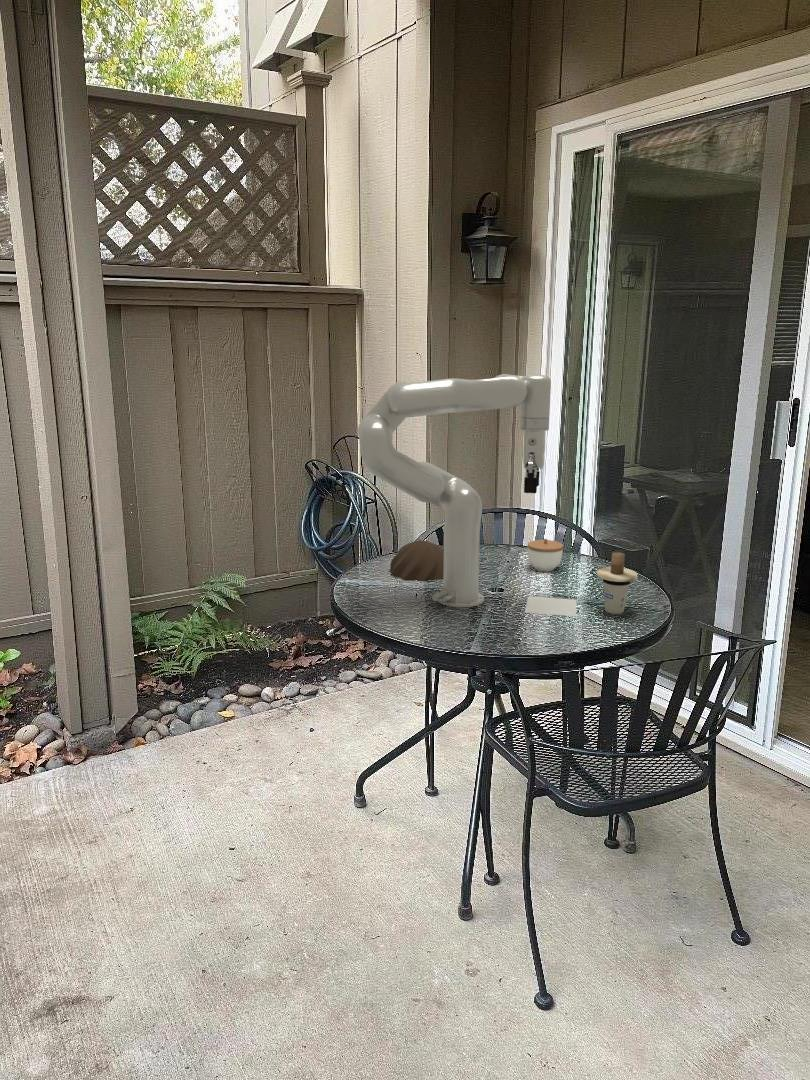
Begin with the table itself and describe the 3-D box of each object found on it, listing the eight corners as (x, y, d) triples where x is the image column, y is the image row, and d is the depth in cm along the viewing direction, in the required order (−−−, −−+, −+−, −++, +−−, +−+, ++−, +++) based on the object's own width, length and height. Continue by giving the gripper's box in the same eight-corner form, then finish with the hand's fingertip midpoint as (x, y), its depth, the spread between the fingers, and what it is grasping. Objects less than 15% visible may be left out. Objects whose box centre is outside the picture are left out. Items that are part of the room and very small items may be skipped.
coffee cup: (624, 608, 205) (627, 571, 203) (631, 617, 198) (634, 580, 196) (597, 607, 205) (600, 571, 203) (603, 617, 199) (606, 579, 196)
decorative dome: (376, 574, 235) (375, 542, 232) (415, 559, 250) (415, 529, 247) (428, 586, 223) (428, 553, 221) (466, 570, 238) (466, 539, 236)
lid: (625, 584, 192) (627, 561, 191) (589, 576, 199) (590, 554, 198) (644, 575, 200) (645, 553, 198) (608, 567, 206) (610, 546, 205)
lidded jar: (524, 563, 245) (526, 534, 243) (559, 563, 245) (560, 534, 242) (528, 573, 235) (530, 543, 232) (564, 573, 234) (566, 543, 232)
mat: (575, 618, 198) (576, 616, 198) (524, 614, 201) (524, 612, 201) (576, 601, 210) (576, 599, 210) (528, 598, 213) (528, 596, 213)
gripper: (547, 428, 192) (544, 496, 196) (550, 420, 208) (547, 483, 212) (516, 427, 193) (514, 495, 198) (522, 420, 210) (520, 482, 214)
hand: (531, 489), depth 205 cm, fingers open, 9 cm apart
